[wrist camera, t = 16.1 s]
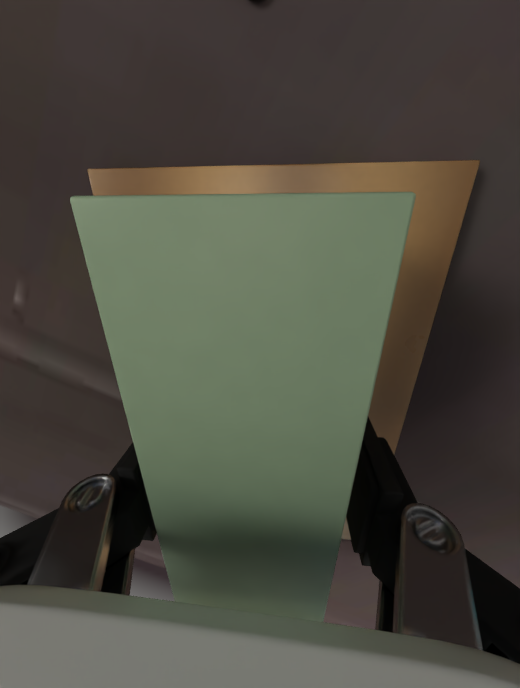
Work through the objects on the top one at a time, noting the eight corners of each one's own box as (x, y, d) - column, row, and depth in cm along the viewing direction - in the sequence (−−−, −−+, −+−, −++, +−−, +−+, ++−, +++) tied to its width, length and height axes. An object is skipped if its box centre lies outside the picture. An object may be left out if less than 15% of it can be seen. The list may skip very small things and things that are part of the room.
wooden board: (471, 163, 7) (481, 159, 7) (366, 534, 14) (369, 542, 14) (95, 171, 8) (86, 168, 8) (169, 513, 16) (166, 519, 15)
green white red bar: (224, 510, 14) (186, 680, 9) (201, 221, 8) (38, 190, 3) (301, 518, 14) (311, 702, 8) (333, 220, 8) (439, 183, 2)
